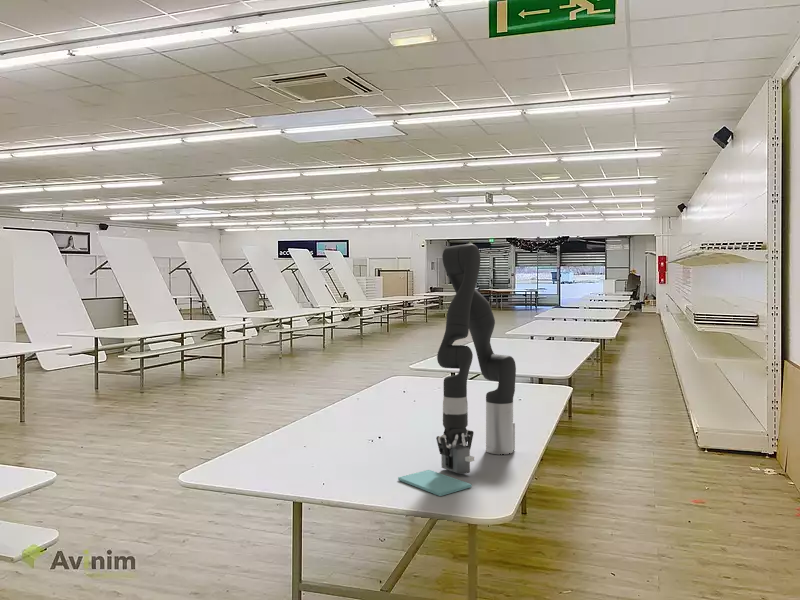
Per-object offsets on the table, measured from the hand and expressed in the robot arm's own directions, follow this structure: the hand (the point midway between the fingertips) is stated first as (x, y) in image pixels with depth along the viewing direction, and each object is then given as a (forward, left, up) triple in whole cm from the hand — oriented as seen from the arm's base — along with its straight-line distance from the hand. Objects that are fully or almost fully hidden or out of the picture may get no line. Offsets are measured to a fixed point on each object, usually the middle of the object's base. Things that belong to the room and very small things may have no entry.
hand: (455, 466), depth 188 cm
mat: (+12, +4, -2) cm, 13 cm away
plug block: (0, 0, -1) cm, 1 cm away
